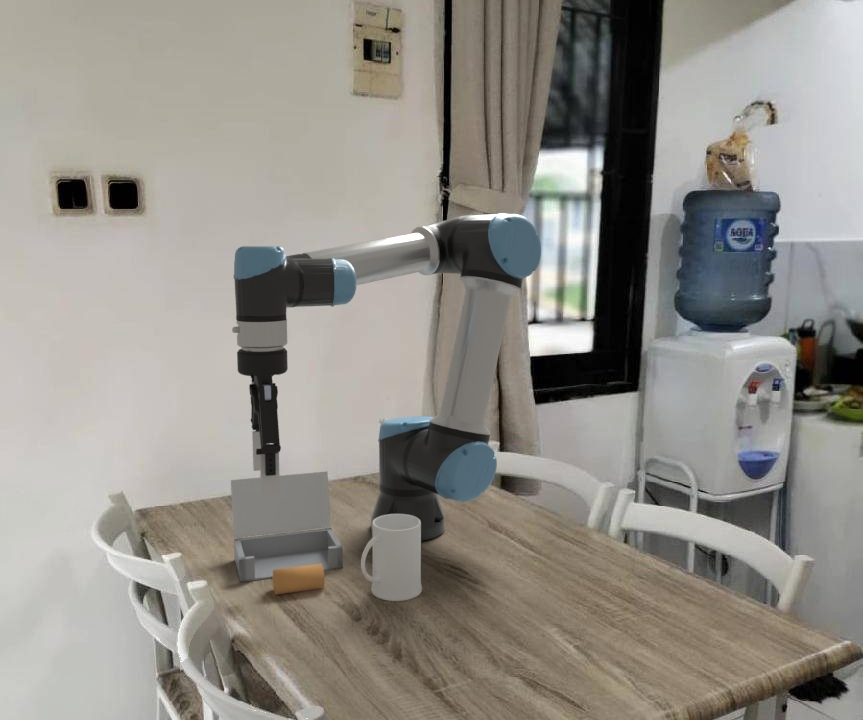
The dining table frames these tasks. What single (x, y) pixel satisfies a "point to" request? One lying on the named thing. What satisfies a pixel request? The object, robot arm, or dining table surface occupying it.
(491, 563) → the dining table surface
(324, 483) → the lid
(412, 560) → the mug
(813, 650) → the dining table surface
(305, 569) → the tan foam roller
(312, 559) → the shallow grey tray
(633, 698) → the dining table surface
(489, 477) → the robot arm
